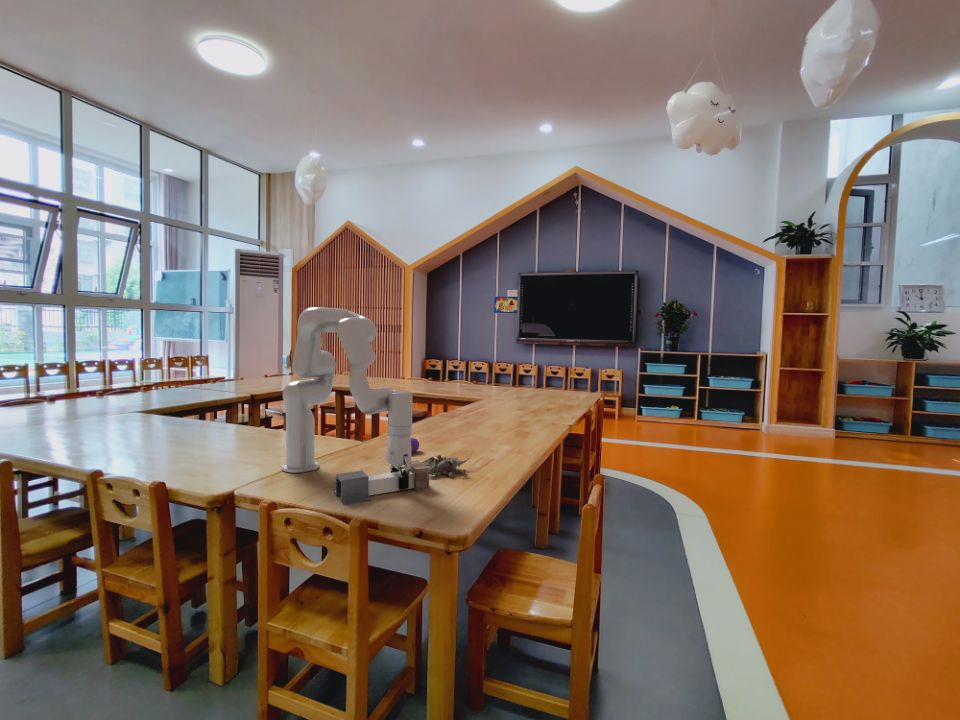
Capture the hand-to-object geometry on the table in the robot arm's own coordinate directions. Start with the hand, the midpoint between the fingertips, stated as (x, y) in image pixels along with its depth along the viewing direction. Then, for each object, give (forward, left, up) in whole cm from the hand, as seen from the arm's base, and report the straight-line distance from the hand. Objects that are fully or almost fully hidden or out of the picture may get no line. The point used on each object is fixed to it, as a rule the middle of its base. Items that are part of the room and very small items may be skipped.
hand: (399, 485), depth 151 cm
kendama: (-35, +16, -2) cm, 39 cm away
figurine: (-11, +20, -2) cm, 22 cm away
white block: (0, -3, -1) cm, 3 cm away
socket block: (0, +6, -1) cm, 6 cm away
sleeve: (0, -15, -1) cm, 15 cm away
